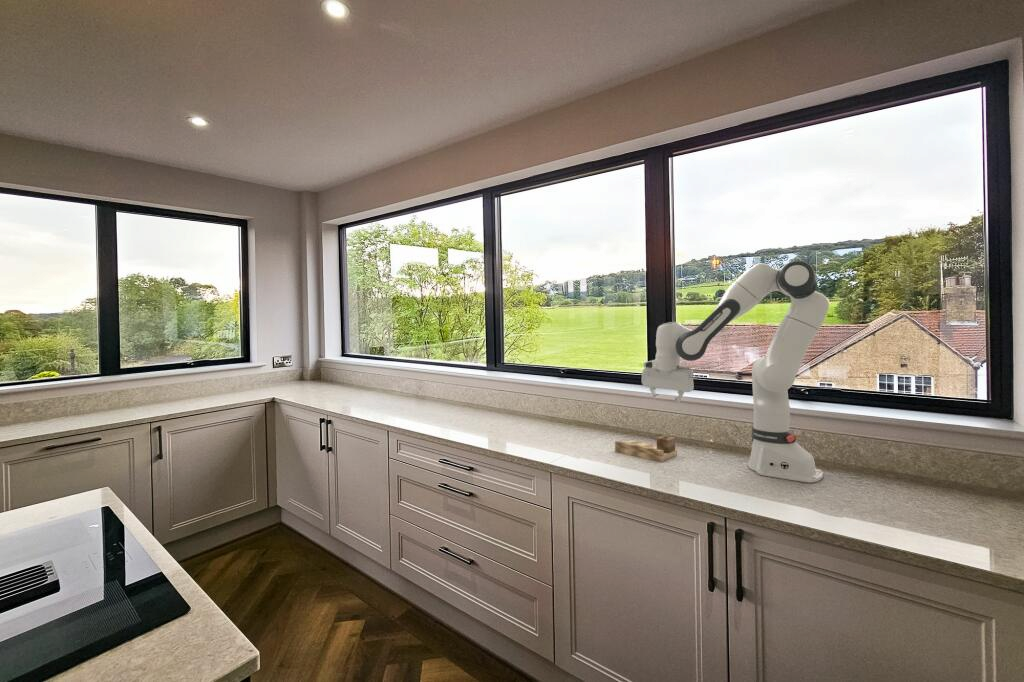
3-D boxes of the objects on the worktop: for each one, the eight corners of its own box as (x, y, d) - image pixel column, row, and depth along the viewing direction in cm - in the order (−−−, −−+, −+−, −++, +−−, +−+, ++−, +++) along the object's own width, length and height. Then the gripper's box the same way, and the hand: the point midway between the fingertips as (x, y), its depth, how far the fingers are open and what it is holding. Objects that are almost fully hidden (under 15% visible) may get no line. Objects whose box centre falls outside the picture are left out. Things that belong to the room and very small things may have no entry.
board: (676, 454, 184) (676, 444, 184) (661, 462, 175) (661, 451, 175) (631, 445, 198) (631, 435, 198) (615, 451, 190) (615, 441, 189)
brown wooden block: (675, 450, 183) (675, 435, 182) (668, 453, 179) (668, 438, 179) (663, 448, 186) (663, 433, 186) (656, 450, 183) (656, 435, 182)
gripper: (697, 366, 175) (696, 403, 176) (648, 361, 191) (647, 395, 192) (688, 367, 171) (687, 405, 172) (639, 362, 187) (638, 397, 188)
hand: (666, 400), depth 182 cm, fingers open, 8 cm apart
